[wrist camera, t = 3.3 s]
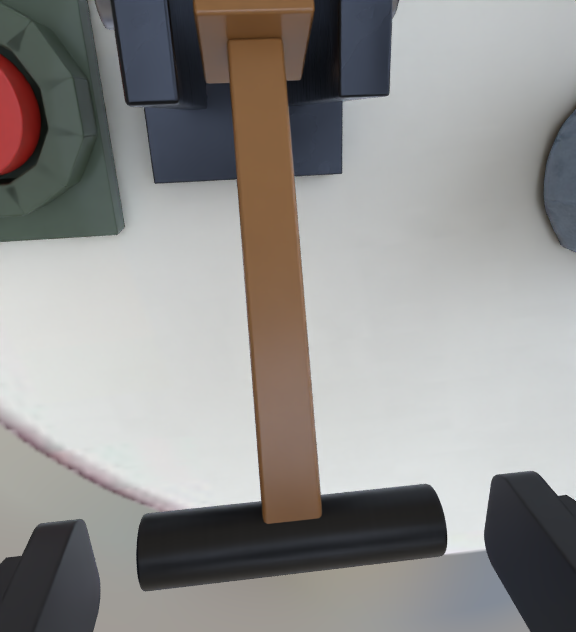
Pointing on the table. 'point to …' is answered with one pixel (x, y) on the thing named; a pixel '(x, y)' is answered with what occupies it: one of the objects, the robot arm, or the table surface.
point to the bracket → (215, 99)
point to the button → (16, 118)
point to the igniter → (59, 127)
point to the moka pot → (562, 184)
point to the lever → (277, 351)
